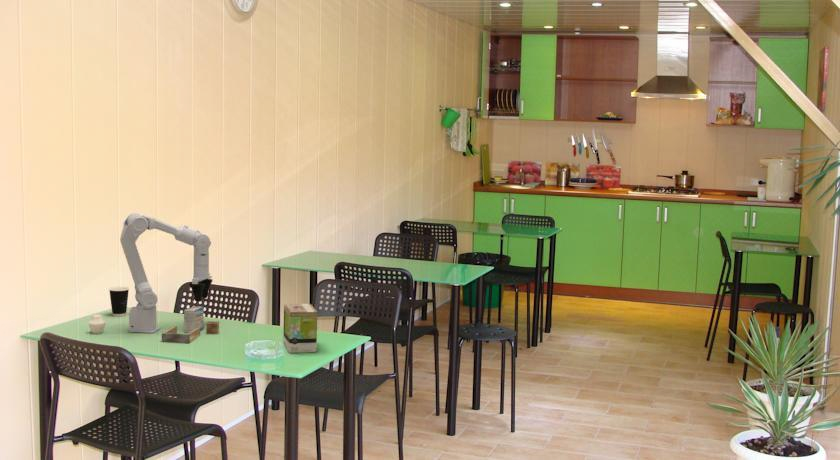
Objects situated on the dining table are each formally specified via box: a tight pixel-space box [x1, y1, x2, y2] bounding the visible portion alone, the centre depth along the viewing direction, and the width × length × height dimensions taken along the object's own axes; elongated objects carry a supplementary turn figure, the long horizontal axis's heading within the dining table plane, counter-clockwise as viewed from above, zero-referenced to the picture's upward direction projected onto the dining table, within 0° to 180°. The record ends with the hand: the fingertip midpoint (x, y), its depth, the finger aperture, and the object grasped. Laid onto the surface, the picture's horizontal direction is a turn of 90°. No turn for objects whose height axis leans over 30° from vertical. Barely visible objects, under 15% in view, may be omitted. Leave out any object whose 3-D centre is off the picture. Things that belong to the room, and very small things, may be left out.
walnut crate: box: [205, 320, 220, 335], centre depth 341 cm, size 4×4×4 cm
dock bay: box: [161, 325, 201, 344], centre depth 331 cm, size 10×12×3 cm
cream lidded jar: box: [88, 314, 107, 335], centre depth 336 cm, size 6×6×7 cm
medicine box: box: [183, 305, 205, 333], centre depth 343 cm, size 8×4×9 cm, turn 168°
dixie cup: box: [108, 286, 130, 317], centre depth 366 cm, size 8×8×11 cm
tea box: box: [282, 303, 318, 354], centre depth 321 cm, size 15×10×15 cm, turn 17°
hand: (201, 299), depth 350 cm, fingers open, 6 cm apart
